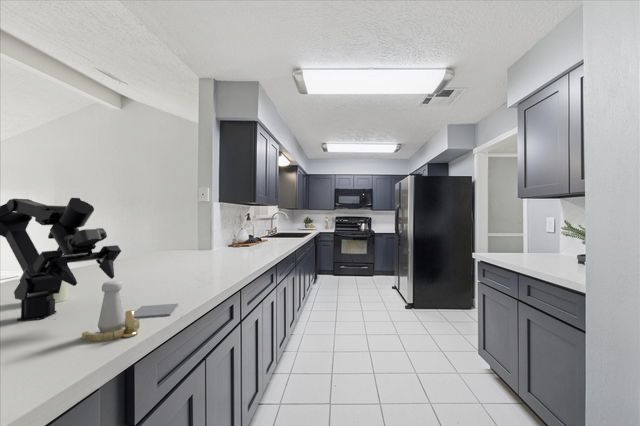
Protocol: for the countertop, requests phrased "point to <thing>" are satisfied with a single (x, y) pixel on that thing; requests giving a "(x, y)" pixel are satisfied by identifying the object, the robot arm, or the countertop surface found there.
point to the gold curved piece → (127, 332)
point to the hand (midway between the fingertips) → (95, 280)
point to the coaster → (155, 310)
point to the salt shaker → (111, 308)
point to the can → (62, 293)
